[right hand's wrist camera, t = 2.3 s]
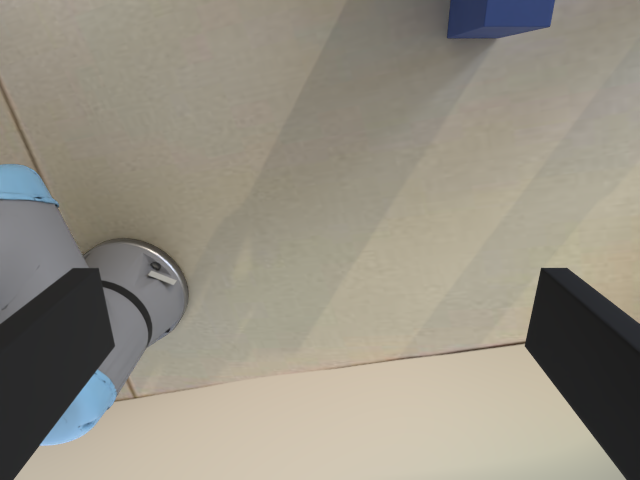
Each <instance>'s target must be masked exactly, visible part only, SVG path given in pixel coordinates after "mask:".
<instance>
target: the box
mask: <svg viewBox="0 0 640 480" xmlns="http://www.w3.org/2000/svg"><path fill="white" fill-rule="evenodd" d="M554 2H555V0H451V3H450V13H449V23H448V34H447V38H501V37H506V36H510V35H515V34H519V33H524V32H528V31H533V30H538V29H542V28H547V27H550V25H551V19H552V13H553V8H554Z"/></svg>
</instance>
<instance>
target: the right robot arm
mask: <svg viewBox="0 0 640 480" xmlns="http://www.w3.org/2000/svg"><path fill="white" fill-rule="evenodd" d="M58 207H59V204H58V202H57V201H56V200H54V199H53V198H52V197H51V195H50V193H49V191H48V190H47V188H46V186H45V185H44V183H43V181H42V179H41V178H40V176H39V175H38V174H37V173H36V172H35V171H34V170H32V169H31V168H29V167H27V166H23V165H18V164H3V165H0V480H14V478H15V477H16V476H17V474H18V473H19V472H20V470H21V469H22V468H23V466H24V465H25V464H26V462H27V461H28V460H29V459H30V457H31V456H32V455H33V453H34V452H35V451H36V449H37V448H38V447H39V445H56V444H61V443H66V442H69V441H72V440H75V439H77V438H79V437H81V436H83V435H84V434H86V433H87V432H88V431H89V430H91V429H92V428H93V427H94V426H95V425H96V423H97V422H98V421H99V419H100V418H101V417H102V415H103V414H104V413H105V411H106V410H108V409H109V408H110V407H111V406H112V404H113V403H114V401H115V398H116V397H117V395H118V393H119V392H120V390H121V388H122V387H123V385H124V384H125V382H126V380H127V379H128V377H129V375H130V374H131V372H132V371H133V369H134V367H135V366H136V364H137V362H138V361H139V359H140V357H141V356H142V354H143V353H144V351H145V349H146V348H147V347H149V346H150V345H152V344H153V343H155V342H156V341H157V340H159V339H161V338H163V337H164V336H166V335H167V334H169V333H170V332H171V331H172V330H173V329H174V328H175V327H176V326H177V324H178V323H179V321H180V320H181V318H182V316H183V314H184V312H185V310H186V307H187V304H188V287H187V283H186V280H185V277H184V275H183V273H182V271H181V270H180V268H179V266H178V265H177V264H176V263H175V261H174V260H173V259H172V258H171V257H170V256H168V255H167V254H166V253H165V252H163V251H162V250H160V249H159V248H157V247H155V246H153V245H151V244H149V243H146V242H143V241H140V240H135V239H125V238H122V239H112V240H108V241H105V242H102V243H100V244H98V245H97V246H95V247H93V248H92V249H91V250H89V251H88V252H87V253H85V254H84V255H83V256H82V254H81V252H80V250H79V248H78V246H77V244H76V242H75V240H74V238H73V236H72V235H71V233H70V231H69V229H68V227H67V225H66V223H65V221H64V219H63V217H62V215H61V214H60V212H59V210H58ZM525 347H526V348H527V350H528V351H529V352H530V354H531V355H532V356H533V358H534V359H535V360H536V361H537V363H538V364H539V365H540V367H541V368H542V369H543V371H544V372H545V373H546V375H547V376H548V377H549V378H550V380H551V381H552V382H553V384H554V385H555V386H556V388H557V389H558V390H559V392H560V393H561V394H562V396H563V397H564V398H565V399H566V401H567V402H568V403H569V405H570V406H571V407H572V409H573V410H574V411H575V413H576V414H577V415H578V417H579V418H580V419H581V420H582V422H583V423H584V424H585V426H586V427H587V428H588V430H589V431H590V432H591V434H592V435H593V436H594V438H595V439H596V440H597V441H598V443H599V444H600V445H601V447H602V448H603V449H604V451H605V452H606V453H607V455H608V456H609V457H610V459H611V460H612V461H613V462H614V464H615V465H616V466H617V468H618V469H619V470H620V472H621V473H622V474H623V476H624V477H625V478H626V480H640V324H639V323H638V322H636V321H635V320H634V319H633V318H631V317H630V316H629V315H627V314H626V313H625V312H623V311H622V310H621V309H620V308H618V307H617V306H616V305H614V304H613V303H612V302H611V301H609V300H608V299H607V298H605V297H604V296H603V295H601V294H600V293H599V292H598V291H596V290H595V289H594V288H592V287H591V286H590V285H588V284H587V283H586V282H585V281H583V280H582V279H581V278H579V277H578V276H577V275H576V274H574V273H573V272H572V271H570V270H569V269H568V268H541V271H540V276H539V281H538V286H537V290H536V295H535V300H534V305H533V309H532V314H531V319H530V324H529V328H528V333H527V338H526V343H525Z"/></svg>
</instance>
